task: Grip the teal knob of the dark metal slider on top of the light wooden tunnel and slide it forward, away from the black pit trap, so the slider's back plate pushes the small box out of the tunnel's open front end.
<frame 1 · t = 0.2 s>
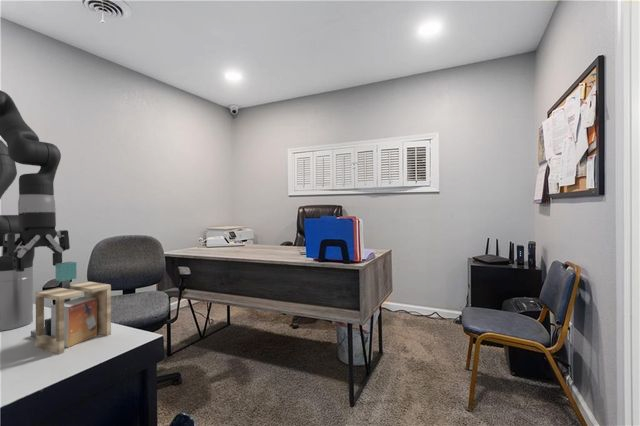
hand: (39, 268, 81), 18 cm above the table, tool pointing down, fingers open, 8 cm apart
small box: (75, 341, 77), on the table
slider: (66, 299, 78), point 10 cm above the table, slide at 0.0 cm
tunnel: (75, 340, 77), on the table
pit trap: (60, 331, 82), on the table
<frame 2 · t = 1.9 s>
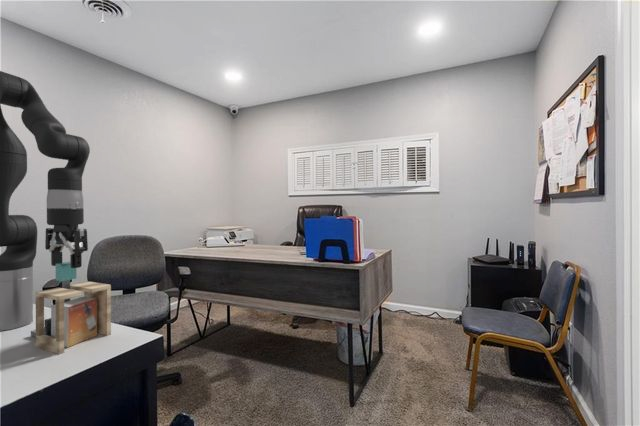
hand: (66, 266, 78), 19 cm above the table, tool pointing down, fingers open, 8 cm apart
nothing on the table moved.
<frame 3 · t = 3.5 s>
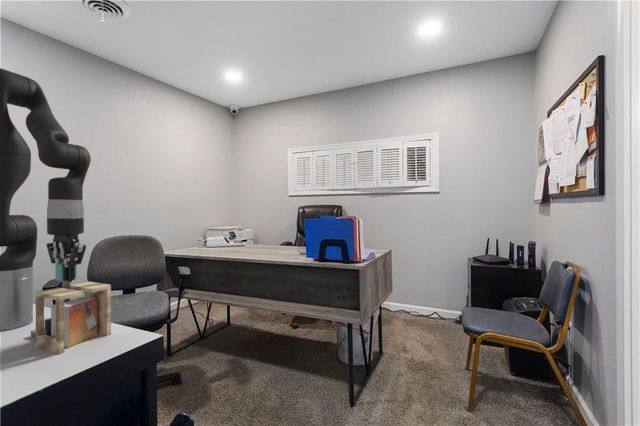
hand: (66, 279, 78), 16 cm above the table, tool pointing down, fingers closed on slider, 2 cm apart
slider: (66, 299, 78), point 11 cm above the table, slide at 0.0 cm, touching gripper
everything else where it was.
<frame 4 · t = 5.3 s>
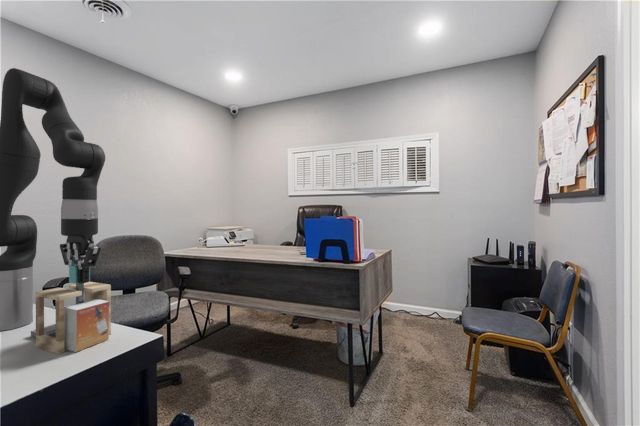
hand: (79, 281, 76), 16 cm above the table, tool pointing down, fingers closed on slider, 2 cm apart
small box: (86, 344, 75), on the table
slider: (79, 302, 76), point 10 cm above the table, slide at 5.9 cm, touching gripper
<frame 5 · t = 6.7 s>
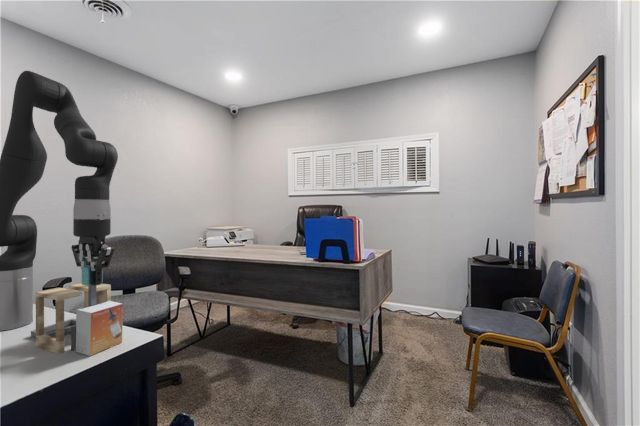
hand: (92, 283, 74), 16 cm above the table, tool pointing down, fingers closed on slider, 2 cm apart
small box: (99, 348, 73), on the table, touching slider
slider: (92, 304, 74), point 11 cm above the table, slide at 11.1 cm, touching gripper, small box
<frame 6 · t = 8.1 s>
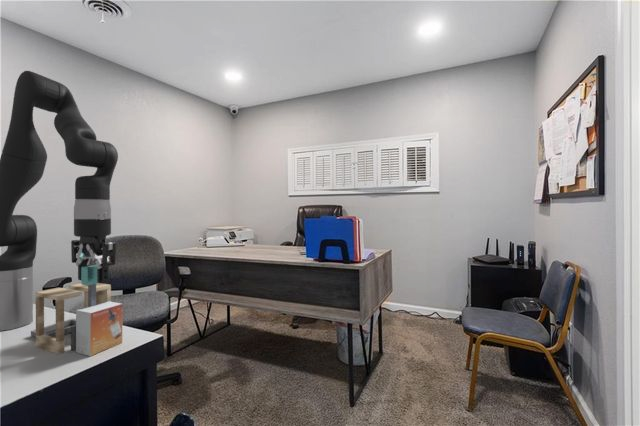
hand: (93, 281, 74), 17 cm above the table, tool pointing down, fingers open, 7 cm apart
small box: (100, 348, 73), on the table
slider: (92, 304, 74), point 11 cm above the table, slide at 11.0 cm
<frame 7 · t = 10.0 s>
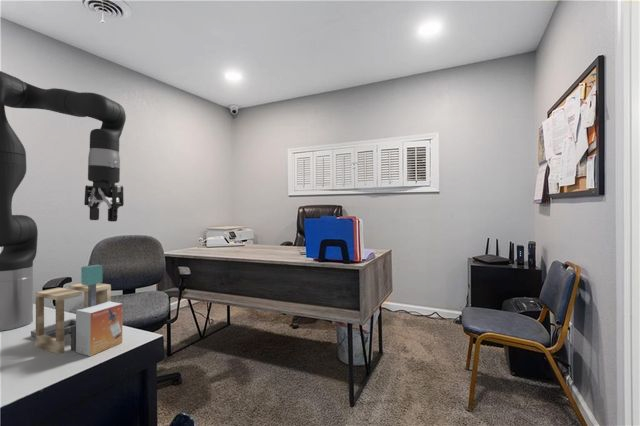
hand: (103, 220, 85), 32 cm above the table, tool pointing down, fingers open, 8 cm apart
nothing on the table moved.
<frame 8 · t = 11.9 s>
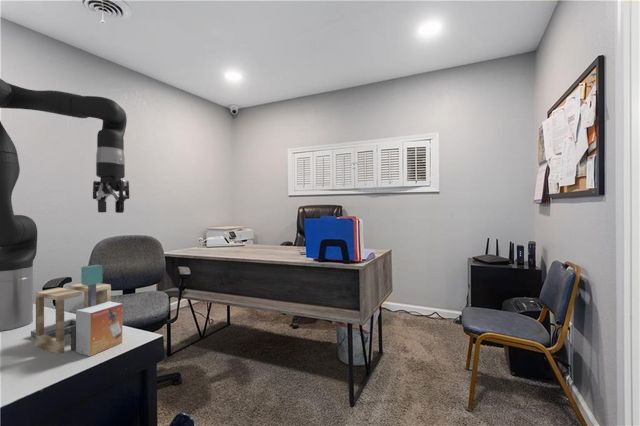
hand: (110, 212, 94), 34 cm above the table, tool pointing down, fingers open, 8 cm apart
nothing on the table moved.
at the end: slider slide at 11.0 cm; small box inside the target area (2.0 cm from its centre), on the table; small box tilted 0° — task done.
